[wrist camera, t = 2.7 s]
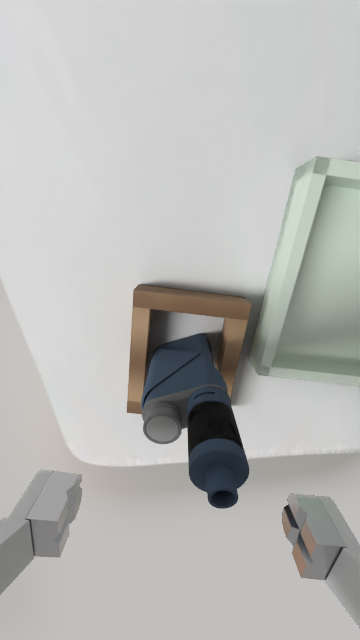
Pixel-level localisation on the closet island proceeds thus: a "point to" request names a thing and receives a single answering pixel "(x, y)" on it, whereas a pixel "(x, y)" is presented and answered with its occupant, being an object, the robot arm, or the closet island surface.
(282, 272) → the tray
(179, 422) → the vaping device
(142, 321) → the holder
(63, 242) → the closet island surface
